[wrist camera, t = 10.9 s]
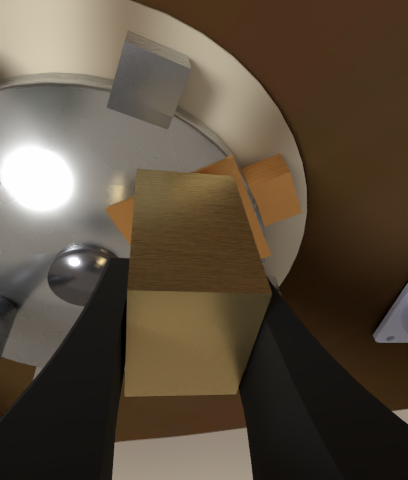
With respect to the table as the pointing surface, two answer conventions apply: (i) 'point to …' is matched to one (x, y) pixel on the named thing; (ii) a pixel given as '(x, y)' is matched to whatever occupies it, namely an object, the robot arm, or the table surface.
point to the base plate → (194, 93)
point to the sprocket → (99, 183)
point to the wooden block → (191, 286)
